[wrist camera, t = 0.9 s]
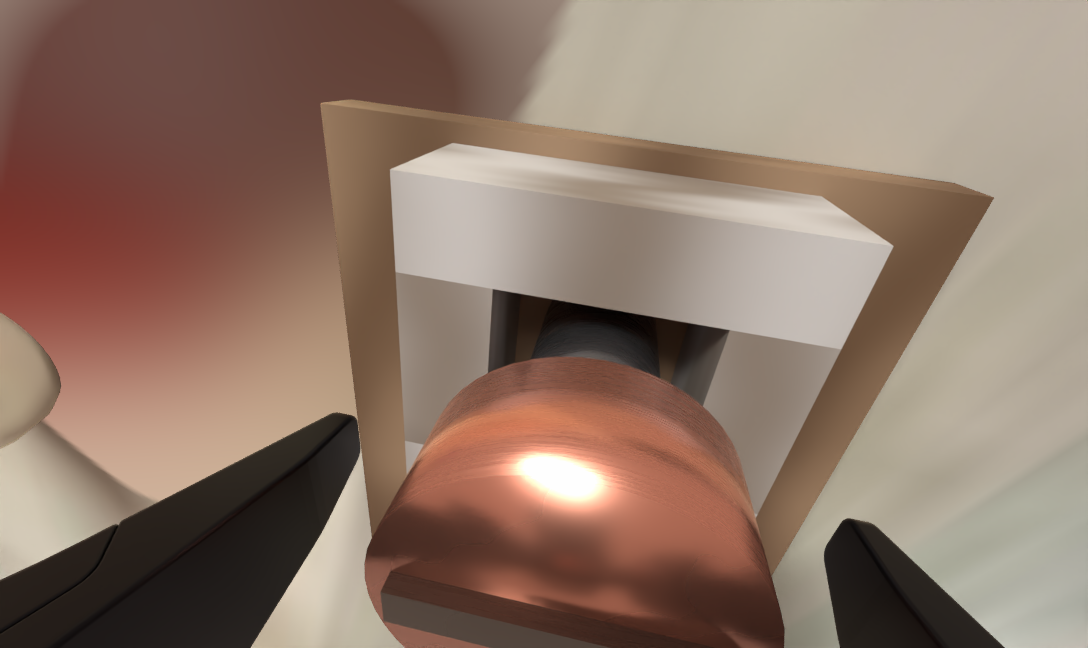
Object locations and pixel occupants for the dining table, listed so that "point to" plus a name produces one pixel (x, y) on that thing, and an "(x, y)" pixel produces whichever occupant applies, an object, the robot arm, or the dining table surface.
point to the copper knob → (575, 509)
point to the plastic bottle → (23, 382)
